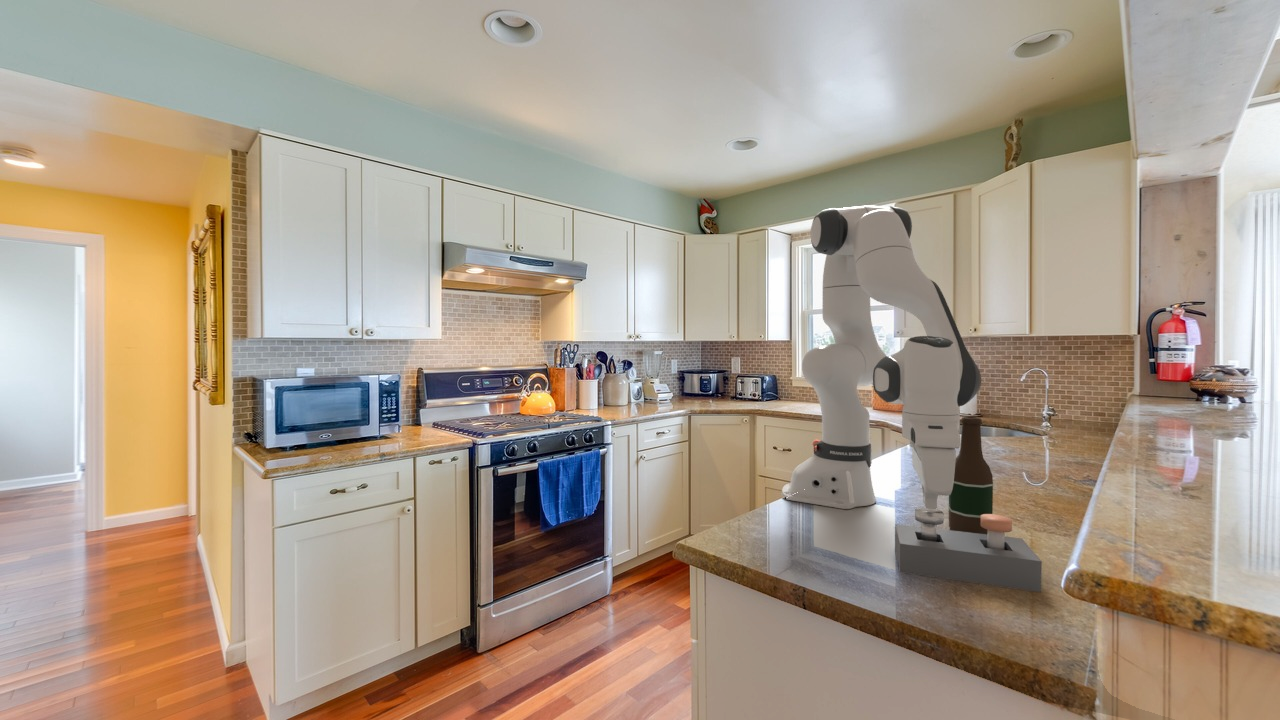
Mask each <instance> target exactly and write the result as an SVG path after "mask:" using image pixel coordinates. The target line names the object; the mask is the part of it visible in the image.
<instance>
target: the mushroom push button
mask: <svg viewBox="0 0 1280 720" xmlns="http://www.w3.org/2000/svg"><path fill="white" fill-rule="evenodd" d="M981 527H983V528H985V529H987V548H991V549H999V550H1004V537H1006V535H1005V533H1010V532H1012V531H1013V519H1011V518H1009V517H1007V516H1005V515H1000V514H994V513H992V514H983V515H981Z"/></svg>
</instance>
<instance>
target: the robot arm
mask: <svg viewBox="0 0 1280 720" xmlns="http://www.w3.org/2000/svg"><path fill="white" fill-rule="evenodd" d="M912 223H913V222H912V218H911V215H910V214H909V212H908V211H907V210H906V209H904V208H901V207H897V206H891V205H889V206H887V207H886V206H880V205H879V206H878V205H860V206H851V207H843V208H842V207H841V208H840V207H839V208H836V207H831V208H827V209H823V210H821V211H819V212H818V213H817V214H816V215H815V216H814V218H813V220H812V224H811V227H810V243H811V246H812V247H813V249H814V250H815V251H816V252H817V253H818V254H822V255H826V257H825V261H824V265H823V266H824V267H823V273H822V320H823V322H824V323H825V325H827V326H828V328H829V329H830V331H831V333H832V336H833V339H834V343H826V344H822V345H820V346H816V347H814V348H811V349H810V350H808V351H807V352H806V354H805V355H804V357H803V358H802V363H801V371H802V375H803V377H804V380H805V381H807V382H808V384H809V385H811V386H812V388H813V390H814V392H815V394H816V396H817V398H818V402H819V406H820V411H821V429H822V430H821V434H822V435H821V438H822V439H821V440H820V439H814V440H813V442H812V445H813V454H814V455H811V457H809V458H807V459H806V460H804V461H803V462H801V463H799V465H797V466H796V467H795V468H794V470H793V471H792V473H791V478H790V482H788V483H786V484H784V486H783V487H782V489H781V496H782V497H783V498H784V499H785V497H788V496H789V497H788V498H786V499H785V500H787V501H793V502H798V503H799V502H801V503H804V504H805V503H806V504H811V505H812V504H813V505H816V506H817V505H818V506H822V507H823V506H825V507H830V508H836V509H841V510H842V509H843V510H850V509H853V508H857V507H865V506H866V507H867V506H871V505H874V504H875V503H876V502H877V498H876V495H875V491H874V487H873V481H872V474H871V466H872V463H873V462H872V460H873V459H872V457H873V454H872V453H873V452H872V451H873V449H872V445H871V443H870V413H869V410H868V409H867V408H866V407H865V406H864V405H863V404H862V402H861V400H860V397H859V392H858V387H865V386H870V385H873V390H874V392H875V393H876V394H877V395H878V397H879V398H880V399H881V400H883V401H884V402H885V403H889V404H895V405H903V407H902V410H901V411H902V412H901V413H902V414H901V417H902V419H901V420H902V421H901V423H902V425H901V426H902V427H901V435H902V436H901V437H902V438H904V439H906V440H909V446H910V447H911V448H912V451H911V452H912V455H911V456H912V457H911V459H912V461H911V463H912V467H913V470H914V471H915V473H916V475H917V477H918V479H919V481H920V483H921V490H922V503H923V505H924V507H925V508H927V509H937V508H938V496H948V497H949V495H950V494H951V492H952V489H953V483H954V473H955V462H956V457H957V450H956V449H960V445H961V435H960V434H961V433H960V432H961V430H960V426H961V424H960V423H961V417H960V415H961V413H960V408H959V407H962V406H964V405H967V404H968V403H969V402H970V401H971V400H972V399H973V398H974V397H976V395H977V394H978V392H979V391H980V389H981V386H982V374H981V370H980V369H979V366H978V365H977V363H976V361H975V360H974V359H973V357H972V356H971V354H970V352H969V351H968V349H967V347H966V345H965V343H964V340H963V338H962V336H961V334H960V331H959V328H958V326H957V324H956V322H955V319H954V317H953V314H952V312H951V310H950V307H949V305H948V302H947V300H946V297H945V296H944V294H943V292H942V290H941V288H940V287H939V285H938V284H937V283H936V282H935V281H934V280H932V279H931V278H929V277H928V276H927V275H926V274H925V273H924V272H923V271H922V269H921V268H920V267H919V265H918V263H917V260H916V259H915V255H914V252H913V248H912V244H911V241H910V239H911V235H912V229H913V224H912ZM871 299H873V300H874V301H876V302H878V303H882V304H883V305H888V306H892V307H894V308H898V309H900V310H903V311H904V312H905V311H906V312H907V313H909V314H911V315H913V316H914V317H916V318H917V319H918V320H919V321H920V322H921V324H922V327H923V328H924V331H925V333H926V335H922V336H921V335H920V336H914V337H910V338H908V339H907V340H906V341H905V343H904V346H903V348H901V350H899V351H897V352H895V353H894V354H891V355H888V356H887V354H886V353H885V351H884V350H883V349H882V348H881V347H880V345H879V343H878V340H877V337H876V335H875V331H874V328H873V322H872V317H871V316H872V315H871ZM804 489H805V490H804ZM797 492H798V493H797ZM794 493H796V494H794ZM792 494H794V495H792ZM790 495H792V496H790Z"/></svg>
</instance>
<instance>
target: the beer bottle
mask: <svg viewBox="0 0 1280 720" xmlns="http://www.w3.org/2000/svg"><path fill="white" fill-rule="evenodd" d="M960 423H961V424H962V425H961V433H960V434H961V435H960V448H959V452H958V455H956V462H955V473H954V483H953V489H952V492H951V494H950V495H949V496H948V528H949V530H952V531H961V532H969V533H978V534H987V529H985V528H983V527H981V515H983V514H994V513H993V512H994V511H993V505H994V504H993V503H994V501H993V500H994V499H993V498H994V497H993V496H994V479H993V473H992V470H991V468H990V466H989V464H988V463H987V461H986V460H985V458H984V455H983V451H982V449H983V446H982V432H981V430H982V429H981V425H982V424H983V421H982V419H981V417H978V416H971V415H970V416H969V415H968V416H962V417H961V418H960Z"/></svg>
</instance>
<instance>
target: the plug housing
mask: <svg viewBox="0 0 1280 720" xmlns="http://www.w3.org/2000/svg"><path fill="white" fill-rule="evenodd" d="M894 525H895V526H894V551H895V556H896V561H897V565H898V571H899V573H902V574H903V573H904V574H911V575H918V576H922V577H923V576H924V577H929V578H930V577H931V578H936V579H937V578H939V579H944V580H946V579H947V580H952V581H959V582H966V583H972V584H980V585H987V586H994V587H1000V588H1001V587H1002V588H1008V589H1013V590H1014V589H1015V590H1023V591H1030V592H1036V593H1042V572H1043V571H1042V569H1043V568H1042V567H1043V566H1042V564H1043V561H1042V559H1040V558H1039V557H1038V555H1037V554H1036V553H1035V551H1034V550H1033V549H1032V548H1031V547H1030V546H1029V545H1028V544H1027V542H1026V541H1025V540H1024V539H1023V538H1021V537H1013V536H1005V537H1004V550H999V549H991V548H987V534H978V533H969V532H961V531H952V530H950V529H942V528H941V529H940V528H937V542H933V541H925V540H921V526H916V525H915V526H914V525H905V524H898V523H895V524H894Z"/></svg>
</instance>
